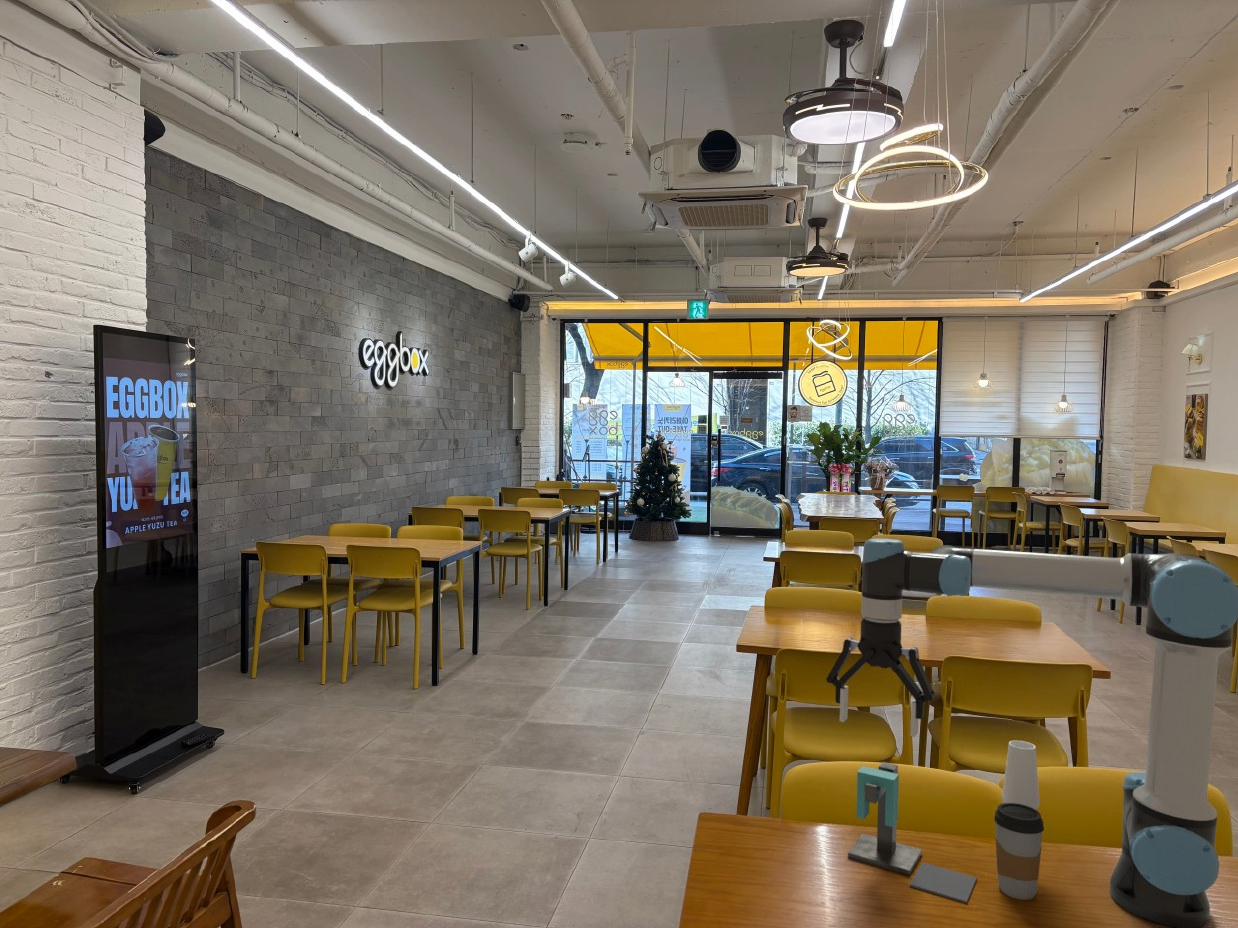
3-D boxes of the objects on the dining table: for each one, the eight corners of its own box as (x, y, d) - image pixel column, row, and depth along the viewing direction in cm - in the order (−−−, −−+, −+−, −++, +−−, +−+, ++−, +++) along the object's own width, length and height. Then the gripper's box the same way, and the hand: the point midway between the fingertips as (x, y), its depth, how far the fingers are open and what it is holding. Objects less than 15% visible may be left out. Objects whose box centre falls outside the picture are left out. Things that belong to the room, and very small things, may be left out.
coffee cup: (1048, 906, 146) (1050, 823, 145) (998, 900, 147) (1000, 818, 147) (1034, 882, 154) (1036, 804, 154) (987, 876, 155) (989, 799, 155)
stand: (921, 854, 164) (923, 765, 163) (900, 890, 150) (903, 793, 150) (862, 837, 170) (864, 752, 170) (837, 871, 157) (839, 778, 156)
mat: (976, 879, 154) (976, 877, 154) (966, 903, 146) (966, 901, 146) (922, 863, 160) (922, 861, 160) (909, 886, 152) (909, 884, 152)
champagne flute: (1029, 877, 156) (1032, 753, 155) (994, 863, 161) (997, 743, 160) (1043, 865, 160) (1046, 745, 160) (1009, 852, 165) (1012, 736, 165)
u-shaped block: (897, 820, 157) (898, 774, 157) (892, 826, 154) (894, 780, 154) (861, 810, 161) (862, 765, 161) (856, 817, 158) (857, 771, 158)
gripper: (953, 624, 153) (949, 735, 153) (825, 607, 167) (822, 709, 167) (944, 631, 147) (941, 746, 147) (812, 613, 160) (809, 719, 161)
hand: (878, 727), depth 157 cm, fingers open, 13 cm apart
